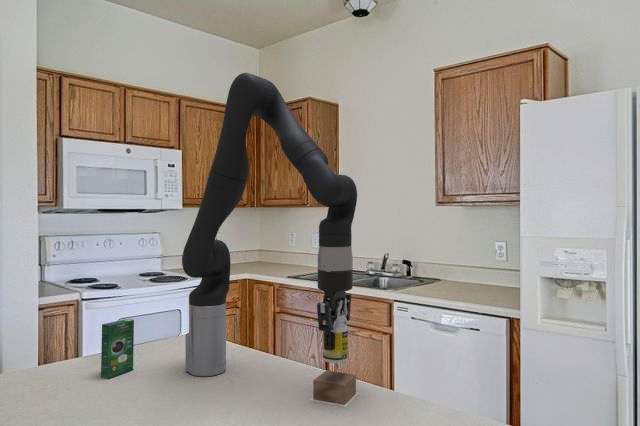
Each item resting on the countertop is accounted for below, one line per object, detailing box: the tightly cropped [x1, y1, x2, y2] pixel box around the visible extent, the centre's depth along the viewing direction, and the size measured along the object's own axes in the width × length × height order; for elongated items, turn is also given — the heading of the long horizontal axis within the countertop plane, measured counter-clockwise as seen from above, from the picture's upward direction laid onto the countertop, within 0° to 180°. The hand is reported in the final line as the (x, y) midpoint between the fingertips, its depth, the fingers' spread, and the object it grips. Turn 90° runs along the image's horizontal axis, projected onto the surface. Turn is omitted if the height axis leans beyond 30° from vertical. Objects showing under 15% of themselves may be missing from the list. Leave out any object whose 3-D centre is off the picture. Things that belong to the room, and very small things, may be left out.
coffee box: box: [100, 318, 135, 380], centre depth 122 cm, size 8×3×13 cm, turn 153°
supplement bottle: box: [322, 313, 349, 364], centre depth 105 cm, size 5×5×10 cm
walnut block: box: [312, 369, 357, 405], centre depth 105 cm, size 7×7×4 cm
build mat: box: [308, 391, 361, 408], centre depth 108 cm, size 12×12×1 cm
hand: (334, 345), depth 105 cm, fingers closed on supplement bottle, 5 cm apart
